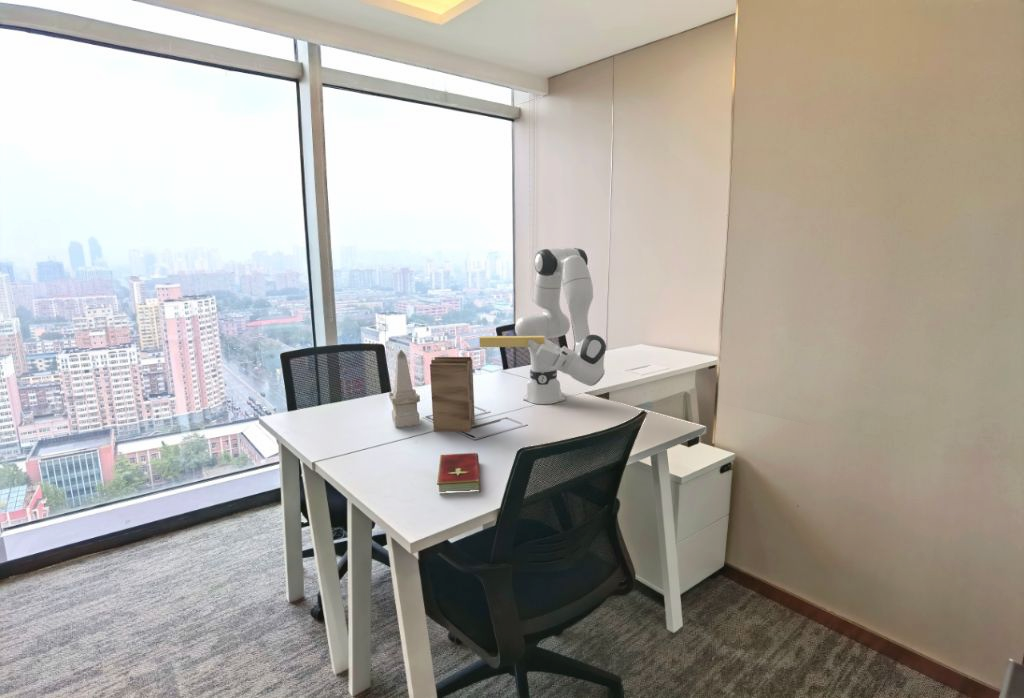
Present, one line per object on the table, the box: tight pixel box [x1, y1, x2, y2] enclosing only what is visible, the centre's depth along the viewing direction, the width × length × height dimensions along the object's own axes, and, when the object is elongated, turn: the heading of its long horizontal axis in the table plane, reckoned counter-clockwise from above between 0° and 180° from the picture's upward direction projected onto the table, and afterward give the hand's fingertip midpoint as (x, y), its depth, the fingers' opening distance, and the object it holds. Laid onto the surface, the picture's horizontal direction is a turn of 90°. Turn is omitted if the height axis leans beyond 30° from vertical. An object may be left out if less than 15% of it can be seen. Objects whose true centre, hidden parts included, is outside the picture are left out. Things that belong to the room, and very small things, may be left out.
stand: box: [429, 356, 476, 433], centre depth 201 cm, size 10×14×27 cm
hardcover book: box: [436, 452, 481, 493], centre depth 157 cm, size 12×21×4 cm, turn 5°
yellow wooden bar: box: [478, 335, 545, 348], centre depth 194 cm, size 4×24×4 cm, turn 82°
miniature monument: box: [388, 349, 421, 428], centre depth 207 cm, size 10×10×30 cm
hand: (529, 340), depth 193 cm, fingers closed on yellow wooden bar, 3 cm apart
